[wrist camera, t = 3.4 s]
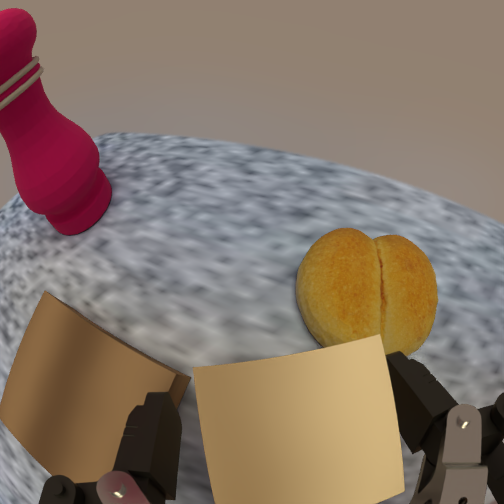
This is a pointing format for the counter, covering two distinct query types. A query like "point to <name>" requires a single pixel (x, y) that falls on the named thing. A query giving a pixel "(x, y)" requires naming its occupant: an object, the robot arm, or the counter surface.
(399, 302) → the bread roll
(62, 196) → the pepper mill
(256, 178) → the counter surface
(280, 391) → the beech block
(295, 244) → the counter surface
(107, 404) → the walnut block
